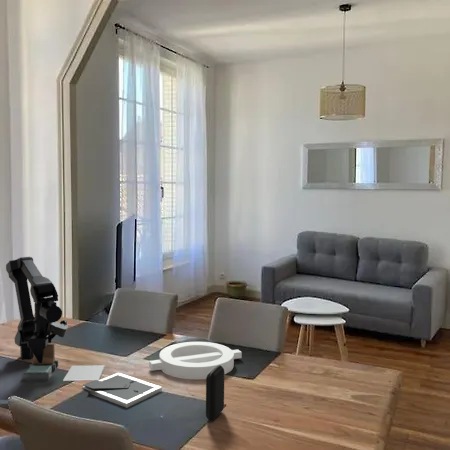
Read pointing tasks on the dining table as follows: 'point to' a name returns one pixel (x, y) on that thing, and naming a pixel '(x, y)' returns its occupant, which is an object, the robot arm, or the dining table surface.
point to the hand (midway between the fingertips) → (44, 358)
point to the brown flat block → (47, 355)
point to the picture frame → (122, 389)
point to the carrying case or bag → (214, 393)
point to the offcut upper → (39, 369)
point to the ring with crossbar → (194, 359)
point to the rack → (39, 375)
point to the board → (85, 373)
